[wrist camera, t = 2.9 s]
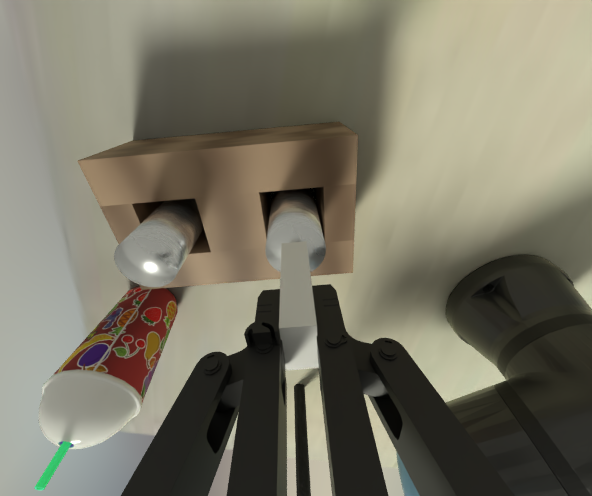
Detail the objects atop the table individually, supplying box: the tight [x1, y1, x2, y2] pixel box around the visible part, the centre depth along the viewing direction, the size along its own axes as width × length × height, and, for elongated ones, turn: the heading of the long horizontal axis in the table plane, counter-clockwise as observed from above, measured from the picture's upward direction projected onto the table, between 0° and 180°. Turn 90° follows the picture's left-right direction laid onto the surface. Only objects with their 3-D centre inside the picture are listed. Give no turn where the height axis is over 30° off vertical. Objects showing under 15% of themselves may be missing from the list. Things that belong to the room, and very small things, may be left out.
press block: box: [78, 122, 358, 290], centre depth 25 cm, size 20×12×8 cm, turn 95°
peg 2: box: [265, 188, 326, 272], centre depth 21 cm, size 4×4×8 cm
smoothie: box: [35, 286, 177, 490], centre depth 28 cm, size 8×8×20 cm
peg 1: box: [114, 198, 204, 287], centre depth 21 cm, size 4×4×8 cm
